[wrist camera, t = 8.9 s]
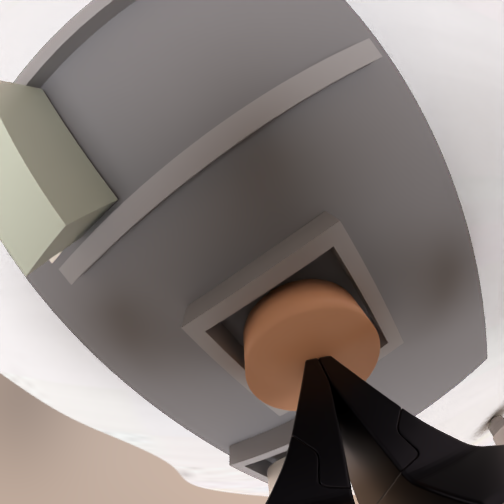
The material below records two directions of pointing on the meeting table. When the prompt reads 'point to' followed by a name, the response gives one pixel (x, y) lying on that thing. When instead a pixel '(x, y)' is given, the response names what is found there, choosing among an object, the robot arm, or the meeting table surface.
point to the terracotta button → (304, 338)
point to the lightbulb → (497, 430)
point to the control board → (252, 204)
